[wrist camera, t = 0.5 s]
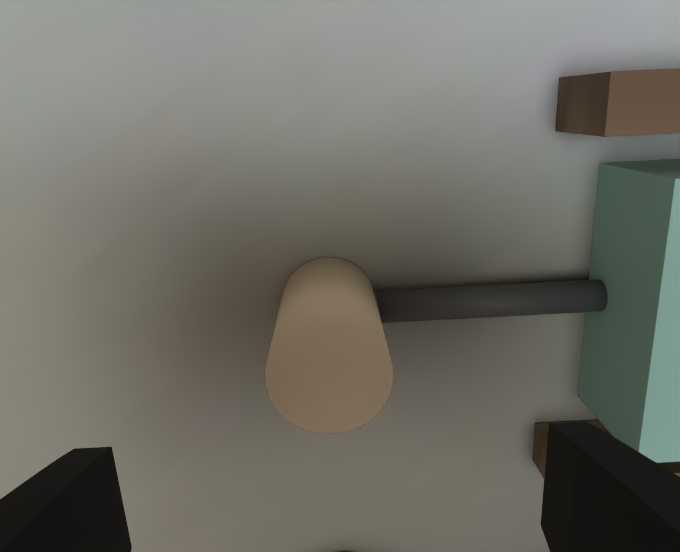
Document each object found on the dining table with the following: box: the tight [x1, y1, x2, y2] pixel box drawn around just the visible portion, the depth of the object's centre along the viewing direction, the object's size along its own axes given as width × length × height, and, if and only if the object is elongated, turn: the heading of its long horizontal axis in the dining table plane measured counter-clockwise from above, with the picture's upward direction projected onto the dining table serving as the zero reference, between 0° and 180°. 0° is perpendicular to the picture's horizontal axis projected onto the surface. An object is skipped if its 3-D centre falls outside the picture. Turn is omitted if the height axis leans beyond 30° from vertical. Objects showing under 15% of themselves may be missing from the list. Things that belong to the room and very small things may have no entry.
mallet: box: [265, 159, 680, 463], centre depth 15 cm, size 8×20×6 cm, turn 93°
